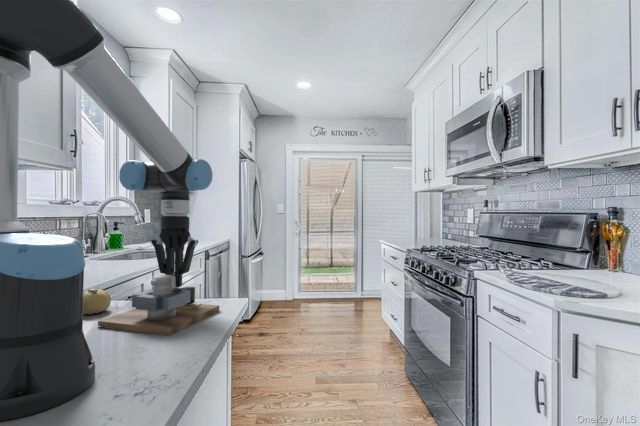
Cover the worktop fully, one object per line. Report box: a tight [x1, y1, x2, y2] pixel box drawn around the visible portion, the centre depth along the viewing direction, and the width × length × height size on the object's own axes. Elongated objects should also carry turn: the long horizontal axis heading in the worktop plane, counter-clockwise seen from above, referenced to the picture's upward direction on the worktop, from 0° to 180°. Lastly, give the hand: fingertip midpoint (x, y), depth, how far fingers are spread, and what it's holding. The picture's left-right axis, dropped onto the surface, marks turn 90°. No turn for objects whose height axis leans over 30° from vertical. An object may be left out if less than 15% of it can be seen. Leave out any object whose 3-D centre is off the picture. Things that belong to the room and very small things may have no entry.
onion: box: [83, 287, 112, 315], centre depth 89 cm, size 8×8×7 cm
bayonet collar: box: [131, 286, 196, 311], centre depth 84 cm, size 17×10×5 cm, turn 165°
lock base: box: [97, 274, 220, 337], centre depth 84 cm, size 20×20×12 cm
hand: (174, 298), depth 92 cm, fingers closed
